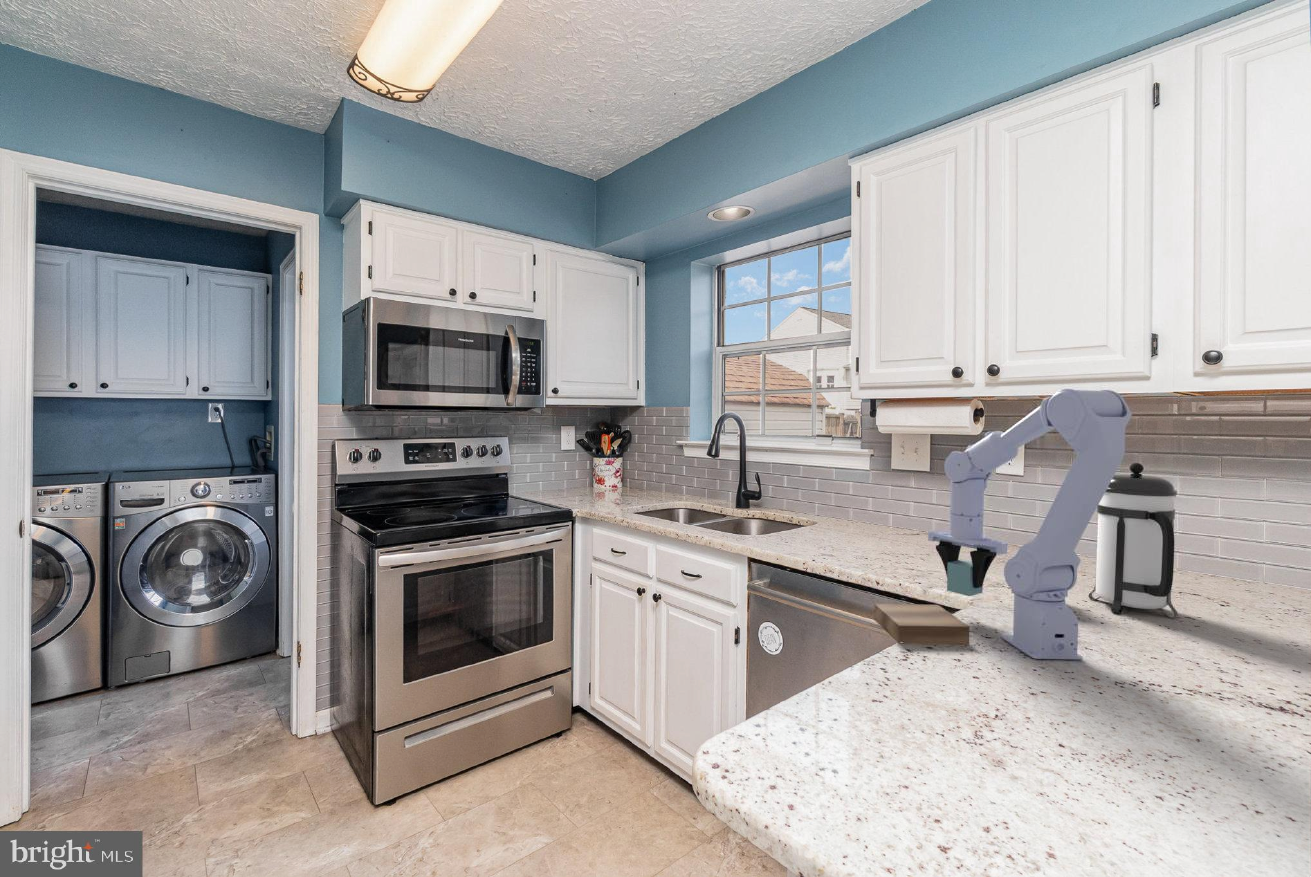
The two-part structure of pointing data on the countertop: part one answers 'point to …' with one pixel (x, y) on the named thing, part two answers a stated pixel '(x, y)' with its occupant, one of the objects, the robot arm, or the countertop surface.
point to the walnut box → (921, 624)
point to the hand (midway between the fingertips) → (964, 583)
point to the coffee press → (1136, 542)
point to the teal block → (961, 578)
